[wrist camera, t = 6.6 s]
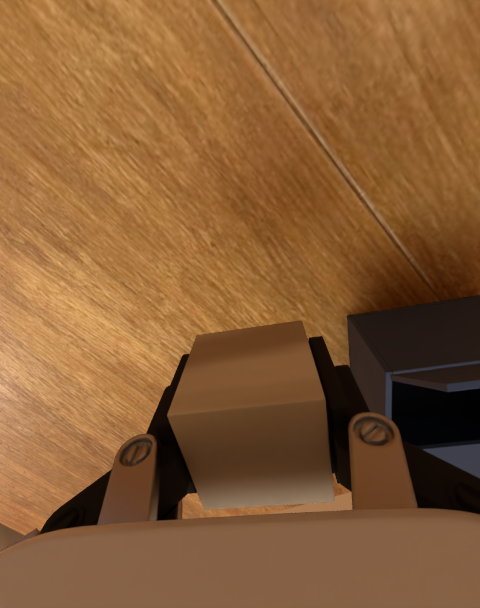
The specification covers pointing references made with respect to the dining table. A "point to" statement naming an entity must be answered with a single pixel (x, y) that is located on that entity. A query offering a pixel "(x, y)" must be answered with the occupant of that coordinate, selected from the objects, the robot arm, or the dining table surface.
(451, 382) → the flap
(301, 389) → the block
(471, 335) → the carton
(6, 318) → the dining table surface
